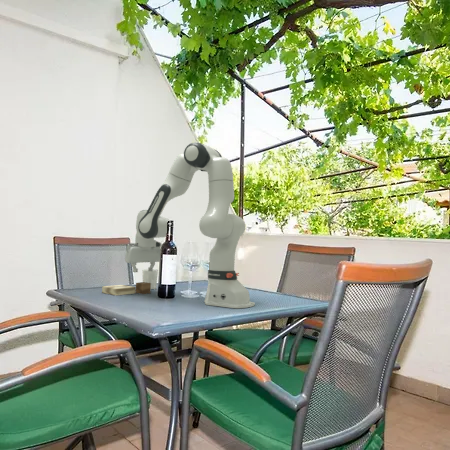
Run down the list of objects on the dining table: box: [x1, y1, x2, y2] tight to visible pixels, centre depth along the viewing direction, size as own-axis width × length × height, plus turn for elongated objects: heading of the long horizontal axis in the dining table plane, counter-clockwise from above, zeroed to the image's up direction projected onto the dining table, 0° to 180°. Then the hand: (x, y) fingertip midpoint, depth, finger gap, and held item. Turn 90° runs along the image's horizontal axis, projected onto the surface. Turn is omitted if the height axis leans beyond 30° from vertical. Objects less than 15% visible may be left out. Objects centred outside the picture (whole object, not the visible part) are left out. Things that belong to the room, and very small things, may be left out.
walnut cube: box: [135, 281, 151, 295], centre depth 204 cm, size 5×5×5 cm
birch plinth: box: [101, 284, 136, 296], centre depth 202 cm, size 11×11×3 cm
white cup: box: [142, 268, 159, 290], centre depth 220 cm, size 8×8×10 cm
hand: (143, 271), depth 205 cm, fingers open, 8 cm apart
